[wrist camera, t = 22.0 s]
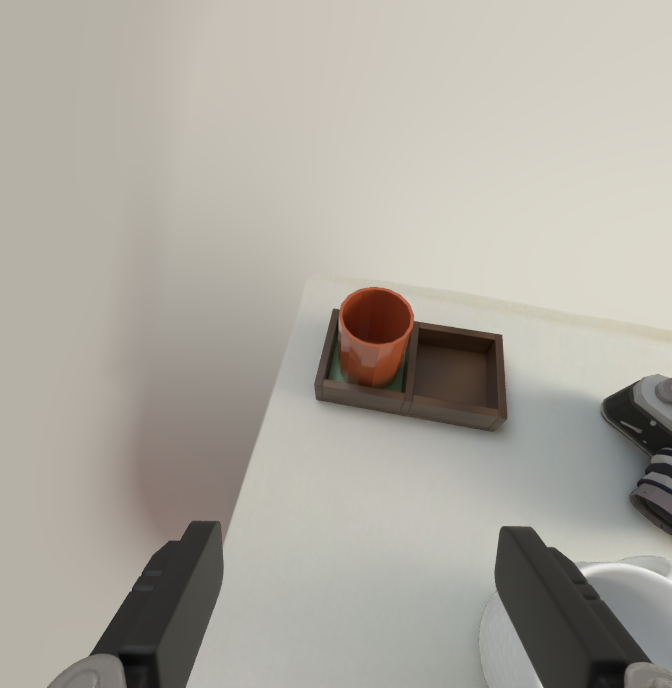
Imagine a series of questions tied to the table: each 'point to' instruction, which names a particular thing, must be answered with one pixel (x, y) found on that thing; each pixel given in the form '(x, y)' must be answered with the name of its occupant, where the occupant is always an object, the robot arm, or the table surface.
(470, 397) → the holder
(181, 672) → the robot arm
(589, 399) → the table surface
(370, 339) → the cup
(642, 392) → the camera
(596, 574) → the mug
